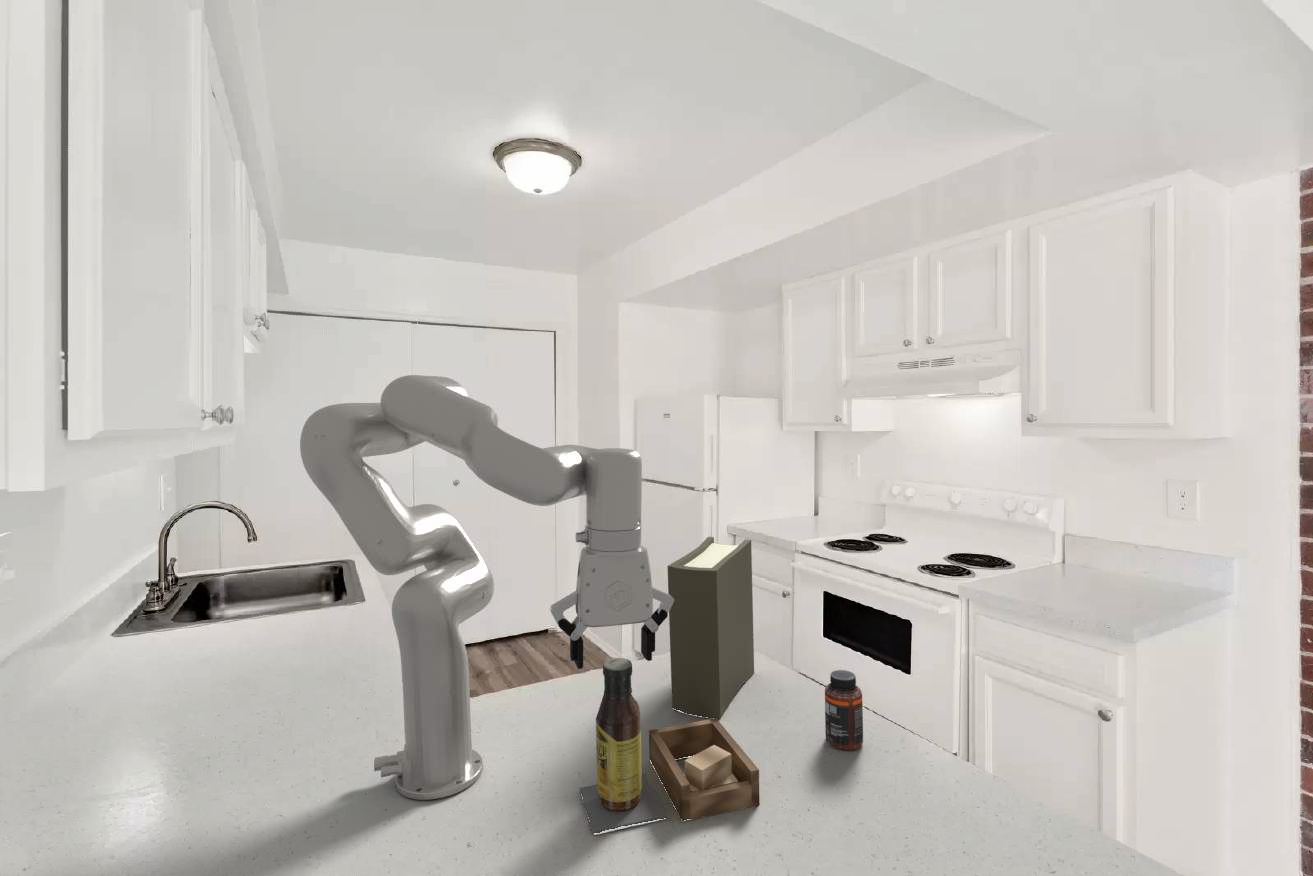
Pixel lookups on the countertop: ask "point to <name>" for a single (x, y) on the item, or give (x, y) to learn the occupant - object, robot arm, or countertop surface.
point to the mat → (612, 819)
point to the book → (710, 627)
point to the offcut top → (708, 767)
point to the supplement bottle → (843, 711)
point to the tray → (691, 742)
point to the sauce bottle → (618, 739)
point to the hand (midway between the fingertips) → (613, 661)
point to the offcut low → (726, 781)
